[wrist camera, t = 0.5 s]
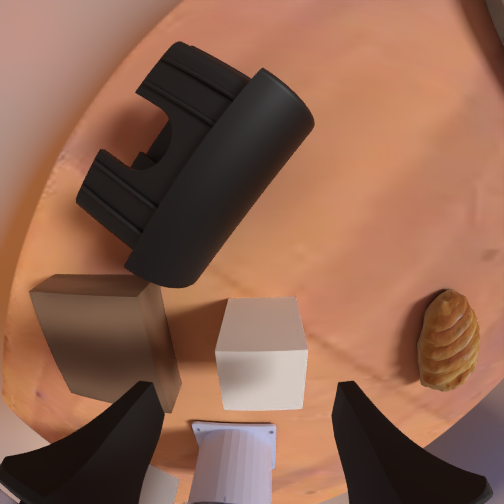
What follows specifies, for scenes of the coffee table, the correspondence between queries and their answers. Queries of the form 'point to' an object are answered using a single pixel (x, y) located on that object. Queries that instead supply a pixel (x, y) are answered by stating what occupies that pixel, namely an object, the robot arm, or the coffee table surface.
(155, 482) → the three tier block tower
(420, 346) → the pastry
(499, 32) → the cake pan
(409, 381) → the coffee table surface
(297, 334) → the white block
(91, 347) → the walnut base
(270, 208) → the coffee table surface
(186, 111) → the end cap
